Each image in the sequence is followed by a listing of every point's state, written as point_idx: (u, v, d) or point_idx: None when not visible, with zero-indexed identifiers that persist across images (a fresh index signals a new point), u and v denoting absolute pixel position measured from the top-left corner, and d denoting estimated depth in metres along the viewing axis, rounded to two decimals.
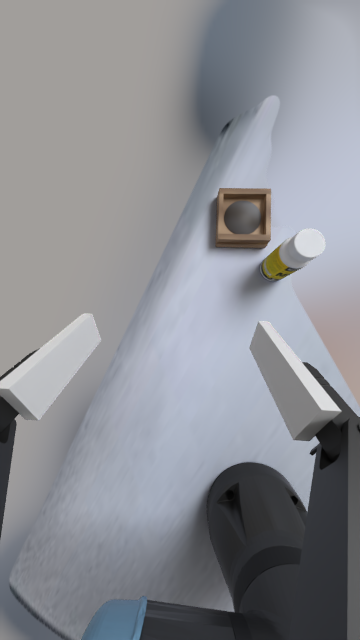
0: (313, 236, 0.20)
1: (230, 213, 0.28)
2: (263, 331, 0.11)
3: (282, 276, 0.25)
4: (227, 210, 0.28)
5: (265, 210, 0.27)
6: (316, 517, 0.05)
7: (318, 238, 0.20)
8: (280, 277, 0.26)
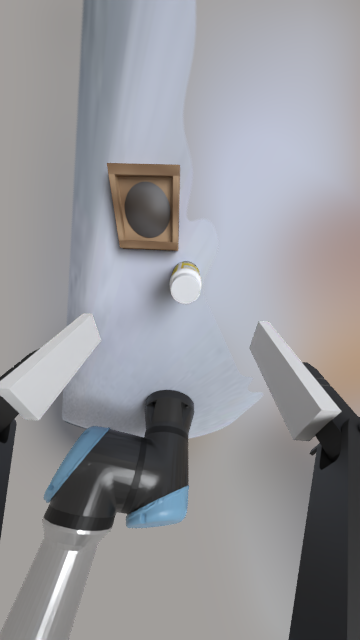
0: (189, 284, 0.20)
1: (132, 204, 0.22)
2: (263, 331, 0.11)
3: None
4: (127, 199, 0.21)
5: (173, 204, 0.21)
6: (316, 517, 0.05)
7: (193, 287, 0.20)
8: None
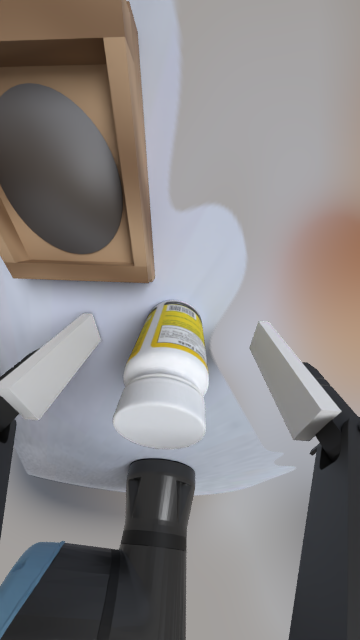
0: (169, 421, 0.06)
1: (14, 167, 0.08)
2: (263, 331, 0.11)
3: None
4: None
5: None
6: (316, 517, 0.05)
7: (184, 426, 0.06)
8: None
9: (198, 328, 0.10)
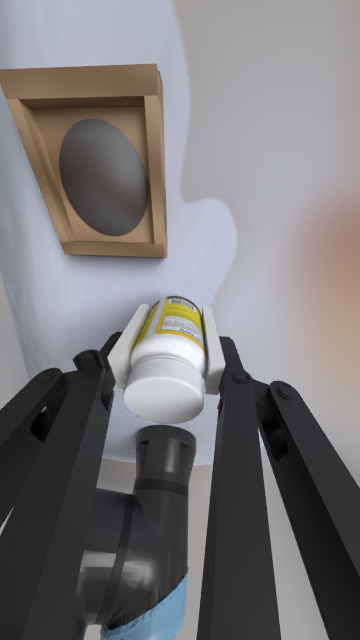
0: (171, 394, 0.07)
1: (74, 172, 0.11)
2: (203, 314, 0.13)
3: None
4: (63, 161, 0.11)
5: None
6: (215, 458, 0.06)
7: (184, 399, 0.07)
8: None
9: (197, 320, 0.11)
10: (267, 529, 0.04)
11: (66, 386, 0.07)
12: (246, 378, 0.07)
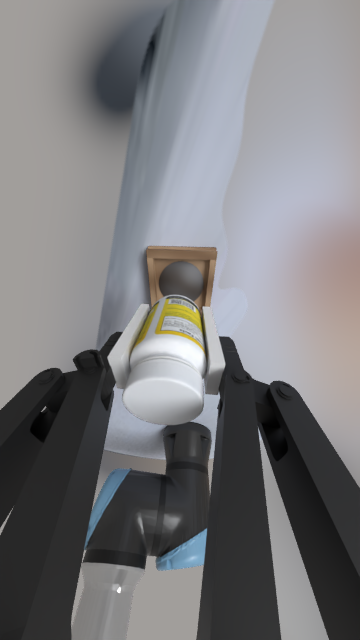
0: (171, 395, 0.07)
1: (166, 278, 0.22)
2: (203, 314, 0.13)
3: None
4: (162, 274, 0.22)
5: (207, 280, 0.21)
6: (215, 458, 0.06)
7: (185, 400, 0.07)
8: None
9: (197, 320, 0.11)
10: (267, 529, 0.04)
11: (66, 386, 0.07)
12: (246, 378, 0.07)
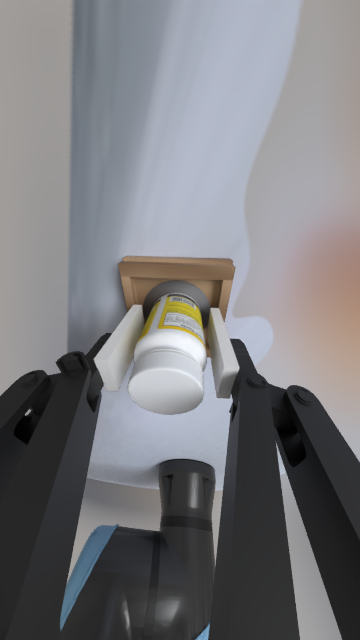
0: (174, 385, 0.07)
1: None
2: (211, 315, 0.12)
3: None
4: (147, 299, 0.14)
5: None
6: (228, 463, 0.06)
7: (186, 389, 0.08)
8: None
9: (197, 316, 0.12)
10: (285, 541, 0.04)
11: (51, 387, 0.07)
12: (262, 383, 0.07)
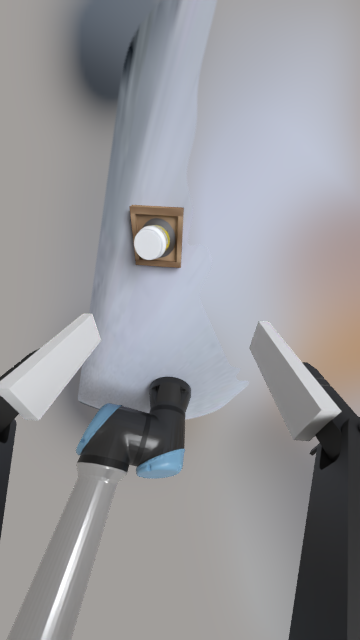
0: (150, 239, 0.21)
1: None
2: (263, 331, 0.11)
3: None
4: None
5: (177, 235, 0.28)
6: (316, 517, 0.05)
7: (154, 241, 0.21)
8: None
9: (165, 232, 0.26)
10: None
11: None
12: None
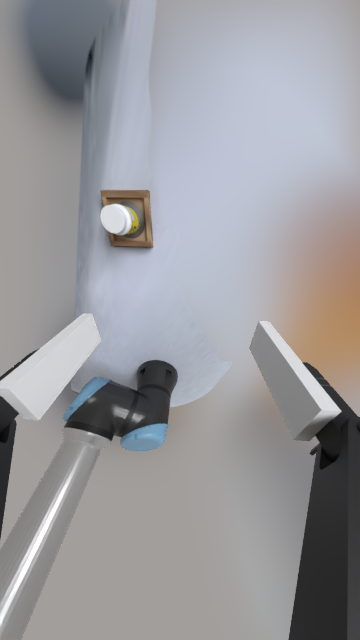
0: (113, 213, 0.25)
1: None
2: (263, 331, 0.11)
3: None
4: None
5: None
6: (316, 517, 0.05)
7: (118, 215, 0.25)
8: None
9: (132, 211, 0.29)
10: None
11: None
12: None
